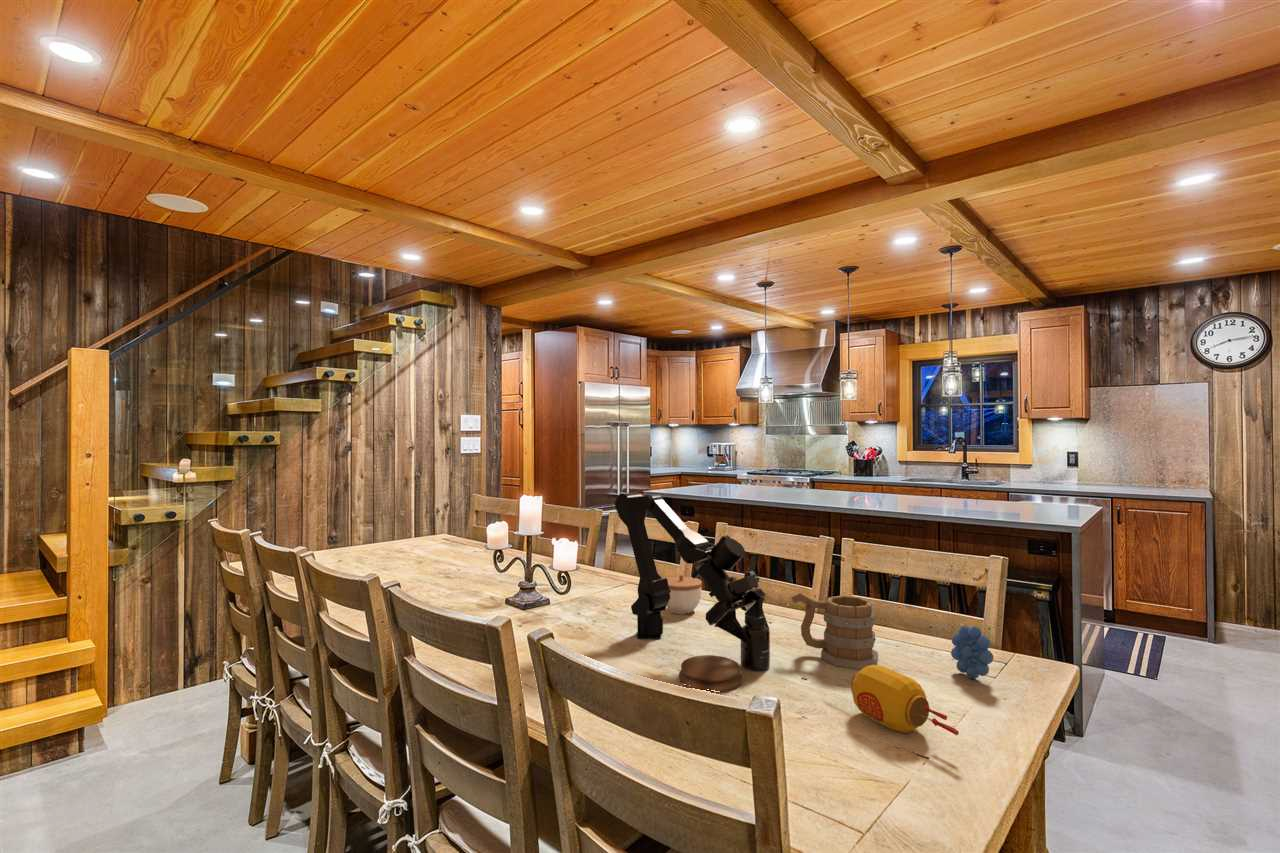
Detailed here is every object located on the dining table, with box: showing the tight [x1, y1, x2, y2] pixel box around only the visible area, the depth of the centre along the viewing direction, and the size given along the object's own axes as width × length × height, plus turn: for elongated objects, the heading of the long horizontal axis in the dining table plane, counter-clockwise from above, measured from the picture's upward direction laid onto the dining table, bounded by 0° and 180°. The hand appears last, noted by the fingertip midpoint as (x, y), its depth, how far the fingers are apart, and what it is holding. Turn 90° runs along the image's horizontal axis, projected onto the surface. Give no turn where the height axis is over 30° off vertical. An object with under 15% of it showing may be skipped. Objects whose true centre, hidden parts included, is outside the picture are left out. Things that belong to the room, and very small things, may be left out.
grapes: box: [950, 625, 994, 680], centre depth 136 cm, size 12×7×12 cm, turn 13°
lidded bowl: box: [666, 574, 703, 615], centre depth 189 cm, size 13×13×11 cm
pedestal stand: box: [678, 654, 743, 694], centre depth 137 cm, size 14×14×3 cm
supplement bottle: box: [740, 613, 771, 672], centre depth 144 cm, size 7×7×12 cm
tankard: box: [791, 592, 879, 670], centre depth 150 cm, size 20×13×15 cm, turn 65°
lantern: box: [829, 664, 960, 736], centre depth 116 cm, size 10×10×30 cm
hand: (757, 636), depth 144 cm, fingers open, 9 cm apart
